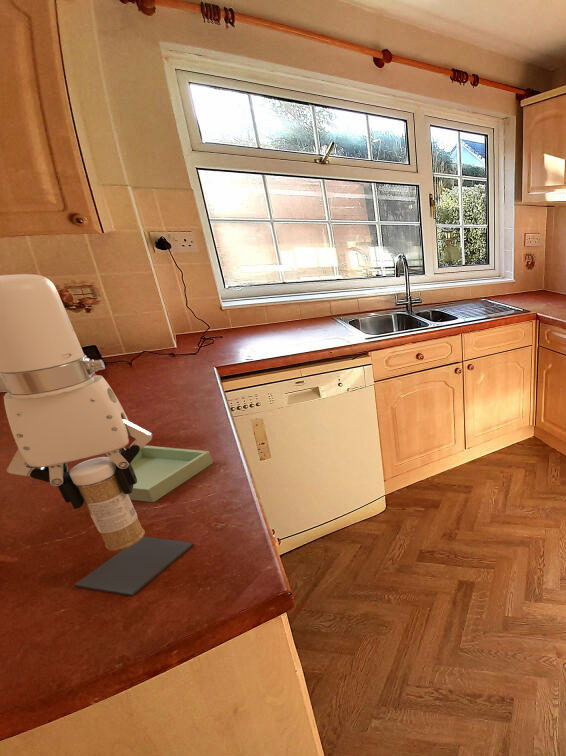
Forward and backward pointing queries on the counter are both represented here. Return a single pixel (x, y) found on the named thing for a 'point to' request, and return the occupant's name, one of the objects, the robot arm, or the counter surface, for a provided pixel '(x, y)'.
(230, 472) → the counter surface
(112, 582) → the mat
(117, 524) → the sprinkles bottle
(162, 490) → the tray
